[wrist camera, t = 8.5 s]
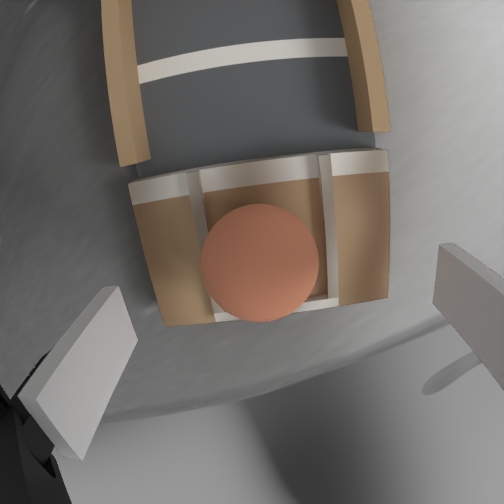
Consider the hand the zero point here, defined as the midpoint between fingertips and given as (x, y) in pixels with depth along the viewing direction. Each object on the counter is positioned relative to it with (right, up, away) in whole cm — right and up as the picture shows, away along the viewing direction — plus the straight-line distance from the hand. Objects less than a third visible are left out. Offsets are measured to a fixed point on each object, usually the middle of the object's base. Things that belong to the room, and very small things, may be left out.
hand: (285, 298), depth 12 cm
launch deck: (0, +3, +8) cm, 8 cm away
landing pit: (-2, +13, +4) cm, 14 cm away
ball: (-1, +1, +3) cm, 3 cm away
